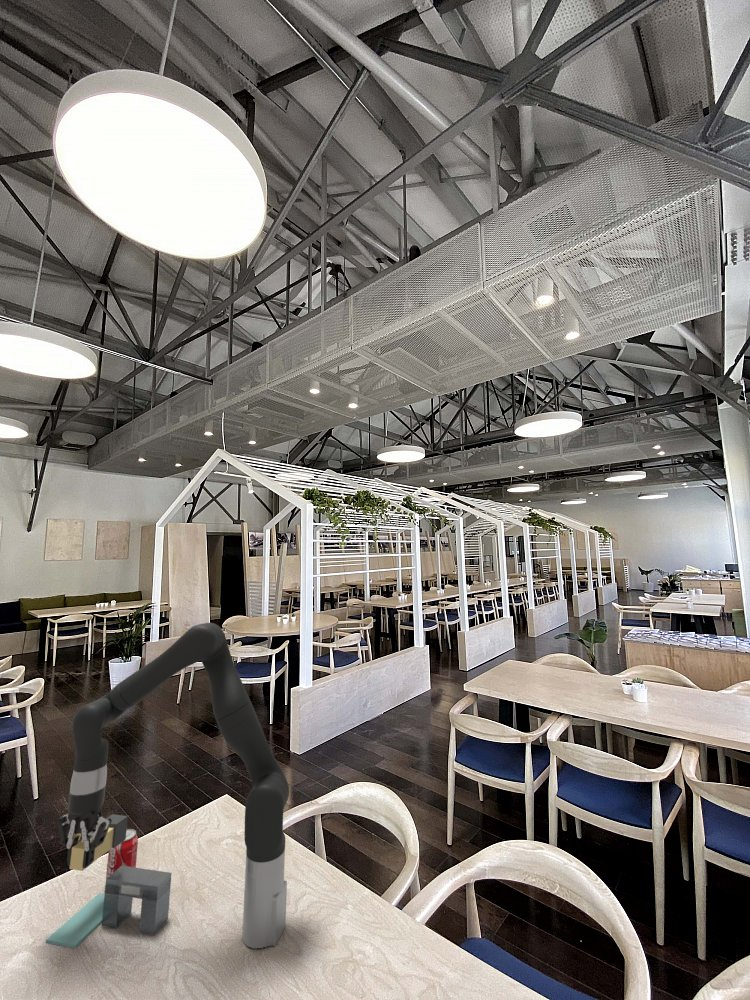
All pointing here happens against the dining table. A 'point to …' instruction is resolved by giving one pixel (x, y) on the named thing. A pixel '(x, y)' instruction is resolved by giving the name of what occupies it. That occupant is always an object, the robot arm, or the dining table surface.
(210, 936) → the dining table surface
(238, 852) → the dining table surface
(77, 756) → the robot arm
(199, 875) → the dining table surface
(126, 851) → the soda can
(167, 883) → the block
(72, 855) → the yellow and black block
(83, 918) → the mat
